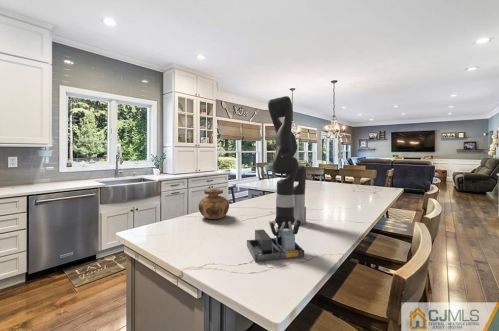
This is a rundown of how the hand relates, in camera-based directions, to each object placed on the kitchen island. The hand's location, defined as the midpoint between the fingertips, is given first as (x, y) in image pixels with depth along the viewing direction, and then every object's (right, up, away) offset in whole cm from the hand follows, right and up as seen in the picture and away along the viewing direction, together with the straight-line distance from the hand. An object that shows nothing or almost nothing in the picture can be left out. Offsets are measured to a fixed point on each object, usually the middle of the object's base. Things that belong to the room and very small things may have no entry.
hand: (284, 244), depth 104 cm
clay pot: (-37, +1, +50) cm, 63 cm away
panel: (0, -1, 0) cm, 1 cm away
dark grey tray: (-5, -3, -1) cm, 5 cm away
